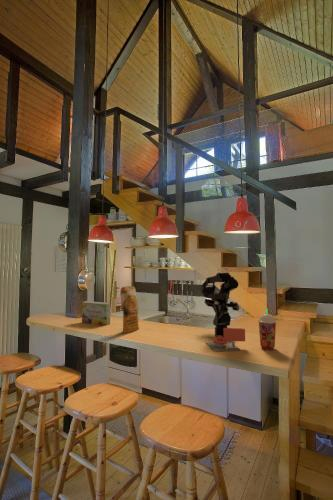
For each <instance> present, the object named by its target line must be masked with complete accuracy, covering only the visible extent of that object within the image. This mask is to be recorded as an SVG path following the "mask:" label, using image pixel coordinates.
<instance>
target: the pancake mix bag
mask: <svg viewBox="0 0 333 500" xmlns="http://www.w3.org/2000/svg"><path fill="white" fill-rule="evenodd" d="M120 299H121V303H120V304H121V309H122V321H123V322H122V334H129V333H130V334H131V333H133V332H135V331H138V330H139V329H140V327H139V305H138V304H139V303H138V295H137V289H136V287H135V285H131V286H130V285H129V286H123V287H121V288H120Z"/></svg>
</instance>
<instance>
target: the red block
mask: <svg viewBox="0 0 333 500" xmlns="http://www.w3.org/2000/svg"><path fill="white" fill-rule="evenodd" d="M227 341H229V342H232V341H234V342H246V329H245V328H236V327H235V328H234V327H233V328H232V327H227V328H224V337H223V336H221V335H218V336H216V337H215V338H213V339H212V342H213V343H215V344H226V343H227Z"/></svg>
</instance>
